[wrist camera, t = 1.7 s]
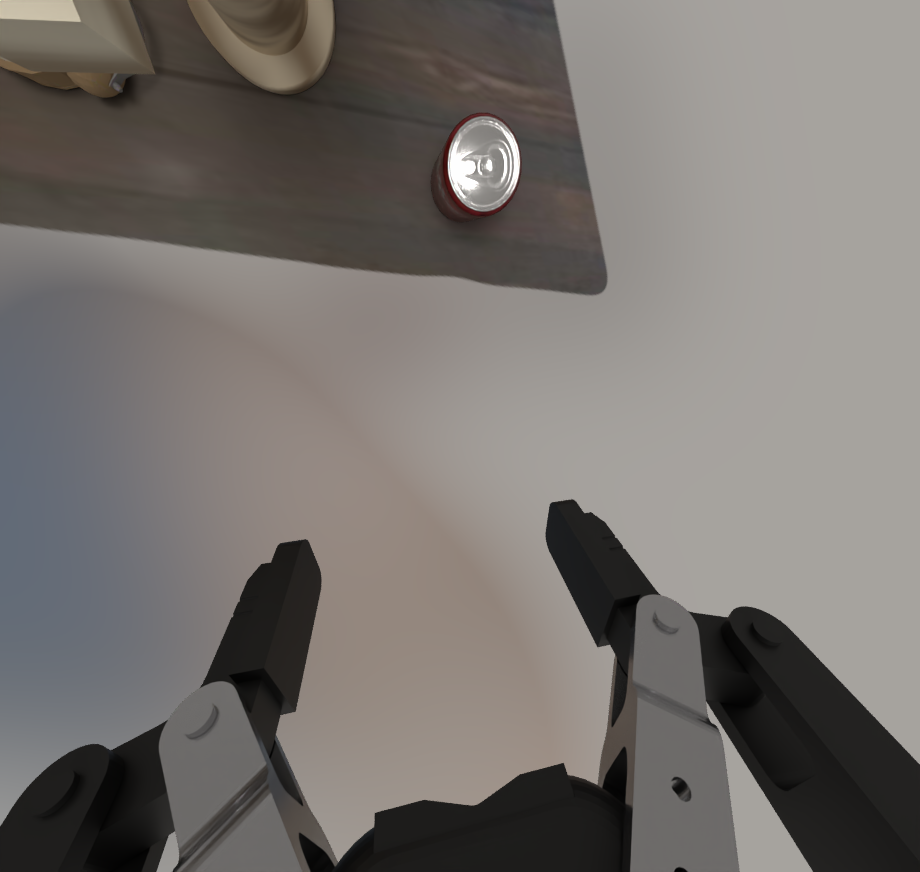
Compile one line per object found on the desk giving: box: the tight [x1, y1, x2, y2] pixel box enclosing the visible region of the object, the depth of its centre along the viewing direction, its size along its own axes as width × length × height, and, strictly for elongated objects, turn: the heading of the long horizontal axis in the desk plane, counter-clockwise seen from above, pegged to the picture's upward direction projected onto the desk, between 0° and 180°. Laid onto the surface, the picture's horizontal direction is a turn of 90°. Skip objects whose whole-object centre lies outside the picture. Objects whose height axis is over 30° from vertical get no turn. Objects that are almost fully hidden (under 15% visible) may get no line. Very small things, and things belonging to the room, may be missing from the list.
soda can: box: [431, 113, 522, 222], centre depth 34 cm, size 7×7×12 cm
